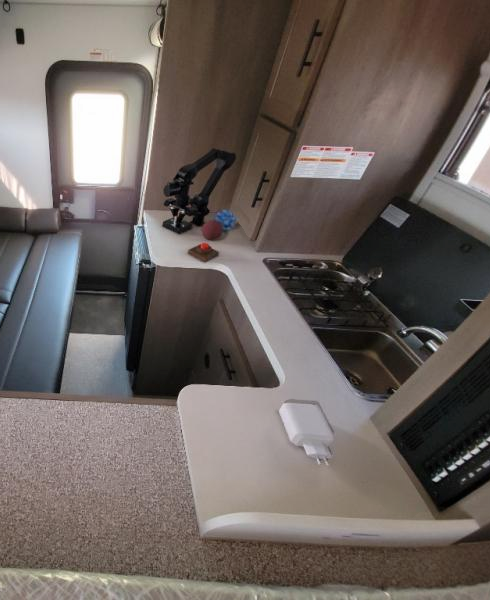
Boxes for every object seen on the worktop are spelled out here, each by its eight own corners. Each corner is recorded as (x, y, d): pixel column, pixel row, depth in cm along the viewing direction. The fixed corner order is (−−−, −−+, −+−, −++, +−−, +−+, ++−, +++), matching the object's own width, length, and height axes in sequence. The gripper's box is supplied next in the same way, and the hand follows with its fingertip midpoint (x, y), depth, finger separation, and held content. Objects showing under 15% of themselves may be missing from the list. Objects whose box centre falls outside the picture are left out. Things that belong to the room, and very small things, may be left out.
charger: (299, 468, 78) (277, 412, 89) (339, 471, 77) (312, 415, 89) (307, 458, 75) (283, 402, 87) (349, 462, 74) (320, 405, 86)
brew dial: (179, 220, 178) (180, 213, 175) (181, 221, 177) (182, 214, 175) (173, 223, 176) (174, 215, 173) (175, 224, 175) (176, 216, 172)
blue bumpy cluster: (213, 234, 172) (218, 213, 165) (209, 228, 178) (215, 207, 170) (235, 235, 172) (241, 213, 165) (231, 229, 177) (237, 208, 170)
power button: (203, 245, 155) (204, 242, 154) (209, 248, 153) (210, 245, 152) (198, 247, 154) (199, 244, 153) (205, 250, 152) (205, 247, 150)
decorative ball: (198, 234, 173) (202, 216, 166) (217, 234, 172) (222, 216, 166) (202, 243, 165) (206, 224, 159) (222, 243, 164) (227, 225, 158)
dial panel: (174, 221, 184) (175, 216, 182) (191, 229, 177) (192, 223, 175) (162, 226, 180) (163, 220, 178) (178, 234, 172) (179, 228, 170)
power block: (201, 247, 161) (202, 240, 159) (218, 255, 155) (220, 248, 153) (187, 253, 156) (189, 246, 154) (204, 262, 150) (206, 255, 148)
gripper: (207, 195, 165) (201, 224, 174) (179, 185, 176) (174, 212, 186) (193, 200, 159) (187, 230, 169) (164, 189, 171) (161, 217, 181)
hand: (177, 222), depth 176 cm, fingers open, 3 cm apart
